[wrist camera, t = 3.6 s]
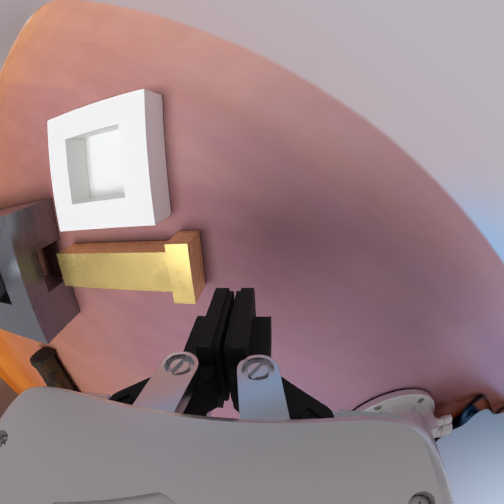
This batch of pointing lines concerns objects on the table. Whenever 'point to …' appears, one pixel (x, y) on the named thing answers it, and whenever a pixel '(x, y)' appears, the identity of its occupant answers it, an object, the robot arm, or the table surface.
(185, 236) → the key
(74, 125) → the tray
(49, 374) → the hand tool
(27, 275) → the socket
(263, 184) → the table surface
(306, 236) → the table surface
